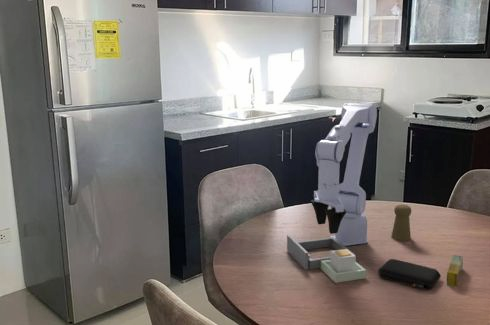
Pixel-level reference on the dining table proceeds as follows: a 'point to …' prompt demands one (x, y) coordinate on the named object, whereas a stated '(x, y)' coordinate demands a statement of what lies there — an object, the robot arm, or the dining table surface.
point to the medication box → (454, 271)
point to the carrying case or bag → (409, 274)
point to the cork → (401, 223)
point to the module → (342, 260)
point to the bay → (343, 276)
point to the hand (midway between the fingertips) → (327, 228)
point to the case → (300, 248)
